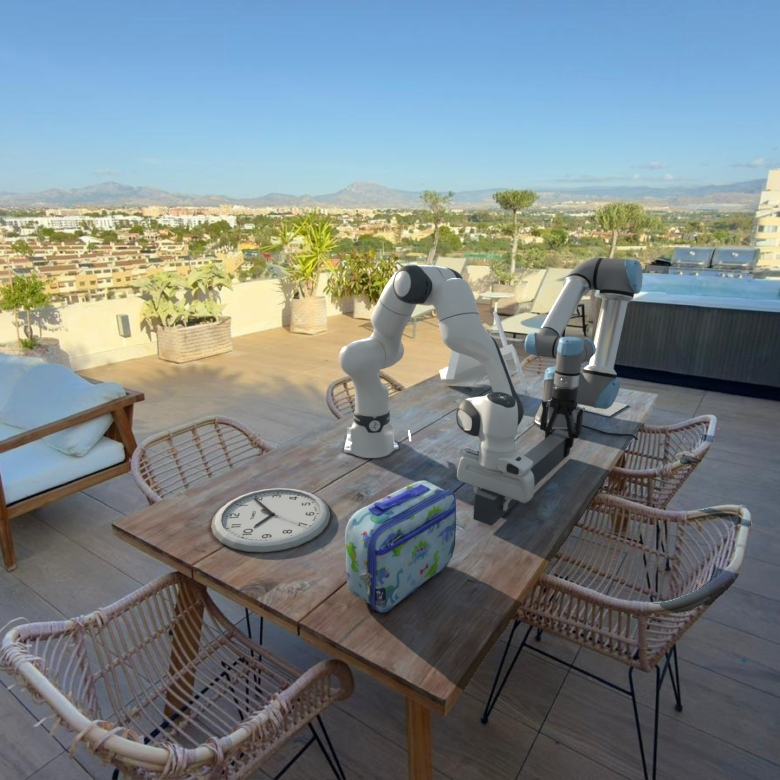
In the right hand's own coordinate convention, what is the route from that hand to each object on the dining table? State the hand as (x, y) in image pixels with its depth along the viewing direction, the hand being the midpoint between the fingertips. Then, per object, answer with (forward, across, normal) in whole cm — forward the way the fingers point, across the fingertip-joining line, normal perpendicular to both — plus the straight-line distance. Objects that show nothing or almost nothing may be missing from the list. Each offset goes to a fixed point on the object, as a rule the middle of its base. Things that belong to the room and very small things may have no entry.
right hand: (557, 453), depth 173 cm
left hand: (-2, 0, -48) cm, 48 cm away
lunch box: (+2, -4, -83) cm, 83 cm away
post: (+1, 0, -24) cm, 24 cm away
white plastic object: (+2, -55, +50) cm, 74 cm away
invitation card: (+2, -4, +66) cm, 66 cm away
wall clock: (+2, -45, -83) cm, 94 cm away
